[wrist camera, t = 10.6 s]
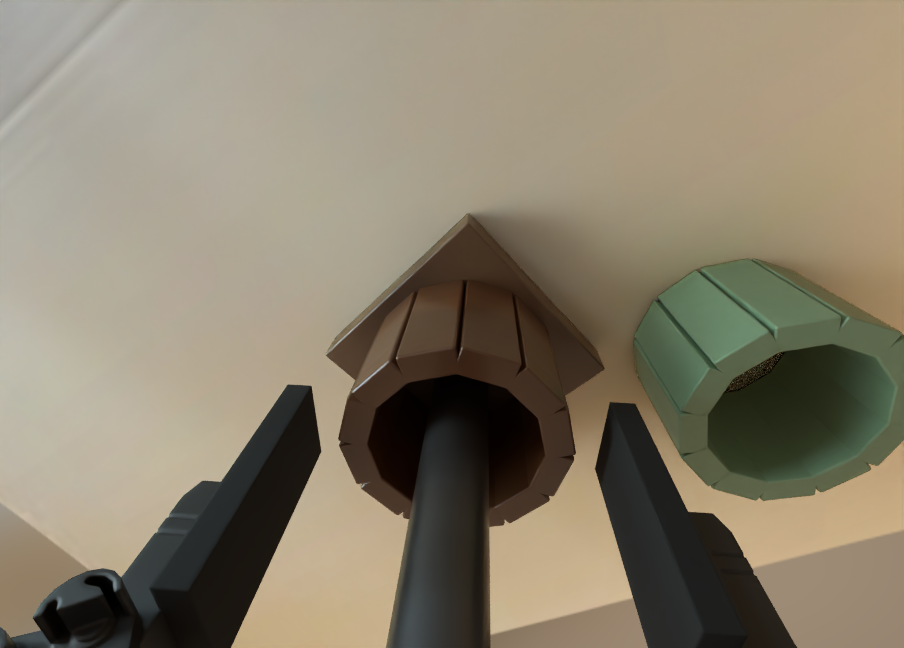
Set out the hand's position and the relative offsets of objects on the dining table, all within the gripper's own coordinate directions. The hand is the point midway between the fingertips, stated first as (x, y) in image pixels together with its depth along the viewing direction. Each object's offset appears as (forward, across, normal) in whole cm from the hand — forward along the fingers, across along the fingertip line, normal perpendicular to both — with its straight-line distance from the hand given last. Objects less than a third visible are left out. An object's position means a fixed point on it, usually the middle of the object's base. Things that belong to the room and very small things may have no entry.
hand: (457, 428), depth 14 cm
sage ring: (+6, +11, +1) cm, 12 cm away
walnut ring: (+4, 0, 0) cm, 4 cm away
